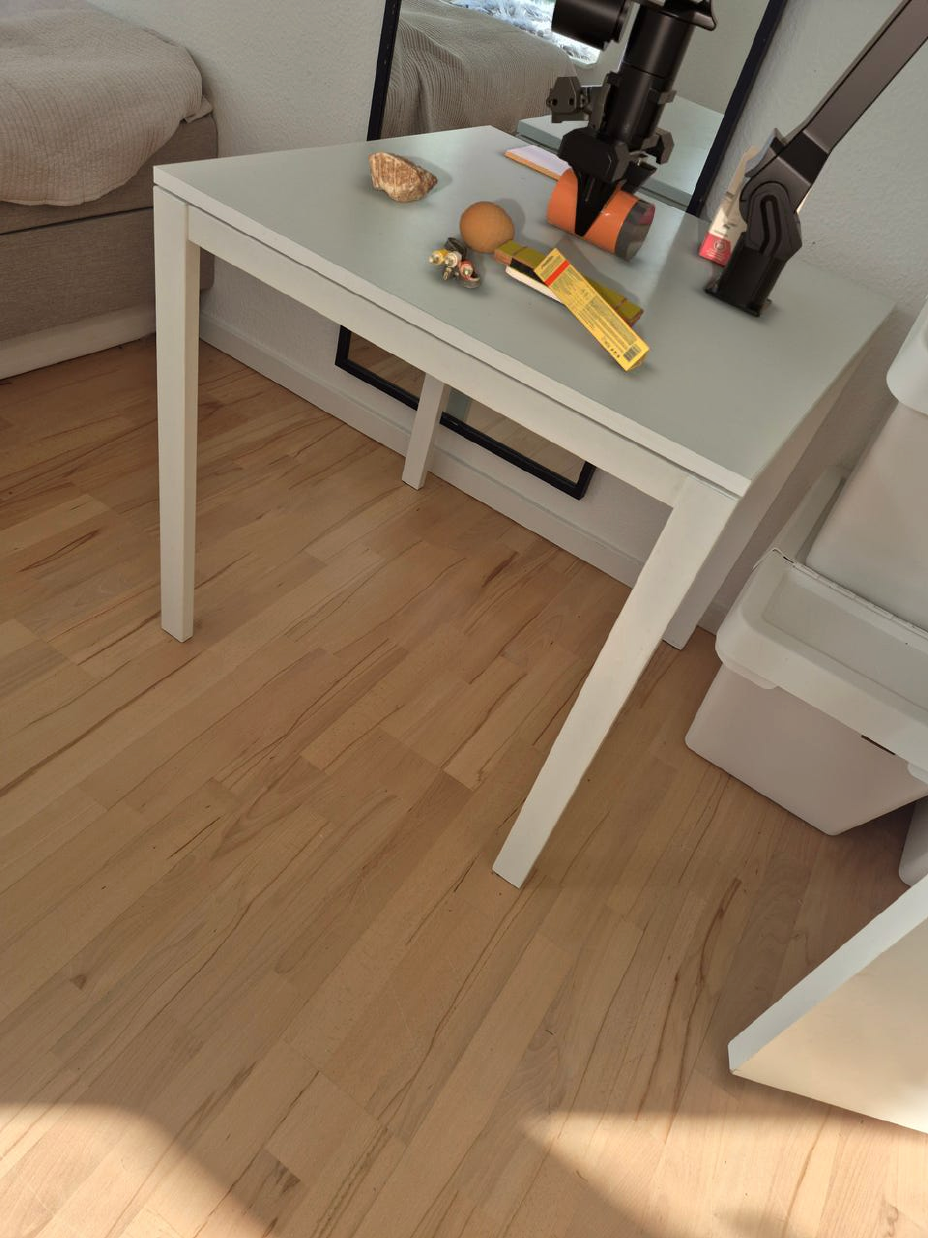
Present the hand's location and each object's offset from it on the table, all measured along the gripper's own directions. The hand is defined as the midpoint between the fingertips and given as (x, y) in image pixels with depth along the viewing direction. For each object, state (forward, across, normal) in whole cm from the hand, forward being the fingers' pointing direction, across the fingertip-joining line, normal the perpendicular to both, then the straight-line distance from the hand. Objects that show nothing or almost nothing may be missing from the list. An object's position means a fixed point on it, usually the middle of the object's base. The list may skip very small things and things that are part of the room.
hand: (589, 230), depth 91 cm
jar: (+1, 0, +1) cm, 1 cm away
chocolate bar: (-2, +26, +10) cm, 28 cm away
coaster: (+1, -21, -16) cm, 26 cm away
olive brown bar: (-1, +19, +6) cm, 20 cm away
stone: (+1, +16, -16) cm, 22 cm away
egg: (-2, +20, -6) cm, 21 cm away
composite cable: (+1, +24, -3) cm, 24 cm away
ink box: (+1, -16, +14) cm, 21 cm away
